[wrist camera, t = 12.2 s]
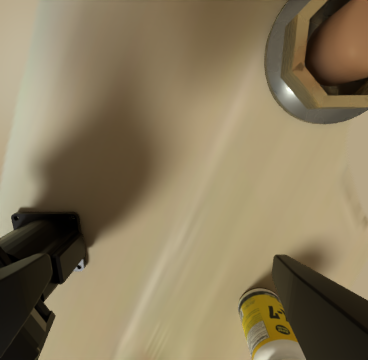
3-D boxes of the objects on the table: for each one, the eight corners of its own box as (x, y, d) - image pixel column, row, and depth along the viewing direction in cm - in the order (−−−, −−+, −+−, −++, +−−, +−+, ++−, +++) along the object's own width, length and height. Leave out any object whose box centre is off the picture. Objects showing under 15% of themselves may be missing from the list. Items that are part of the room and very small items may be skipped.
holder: (259, 124, 18) (270, 124, 16) (271, -26, 16) (286, -55, 13) (384, 123, 18) (416, 122, 16) (418, -29, 16) (462, -59, 13)
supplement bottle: (288, 301, 23) (344, 396, 15) (260, 328, 24) (298, 430, 16) (256, 279, 22) (295, 365, 14) (228, 307, 23) (250, 403, 15)
